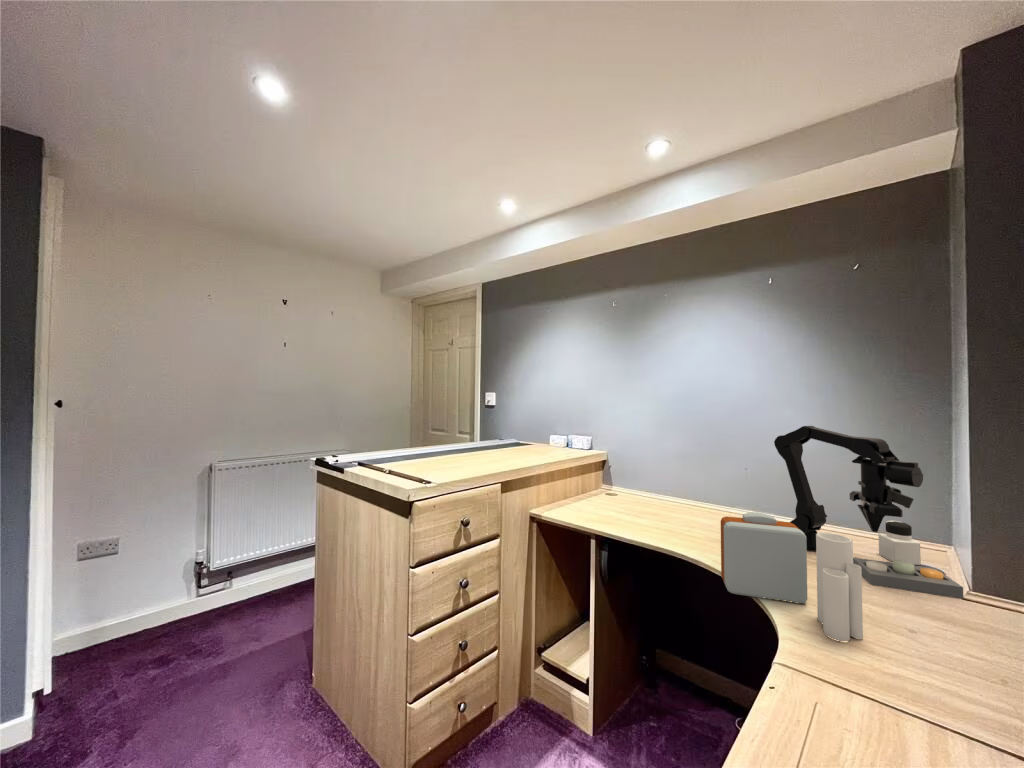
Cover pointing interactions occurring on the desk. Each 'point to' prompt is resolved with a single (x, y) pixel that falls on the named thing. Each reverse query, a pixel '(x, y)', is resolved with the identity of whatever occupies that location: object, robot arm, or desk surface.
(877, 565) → the button ivory
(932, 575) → the button orange
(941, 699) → the desk surface
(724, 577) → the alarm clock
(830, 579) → the vase
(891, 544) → the medicine bottle
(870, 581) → the grey compartment tray
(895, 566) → the button sage
